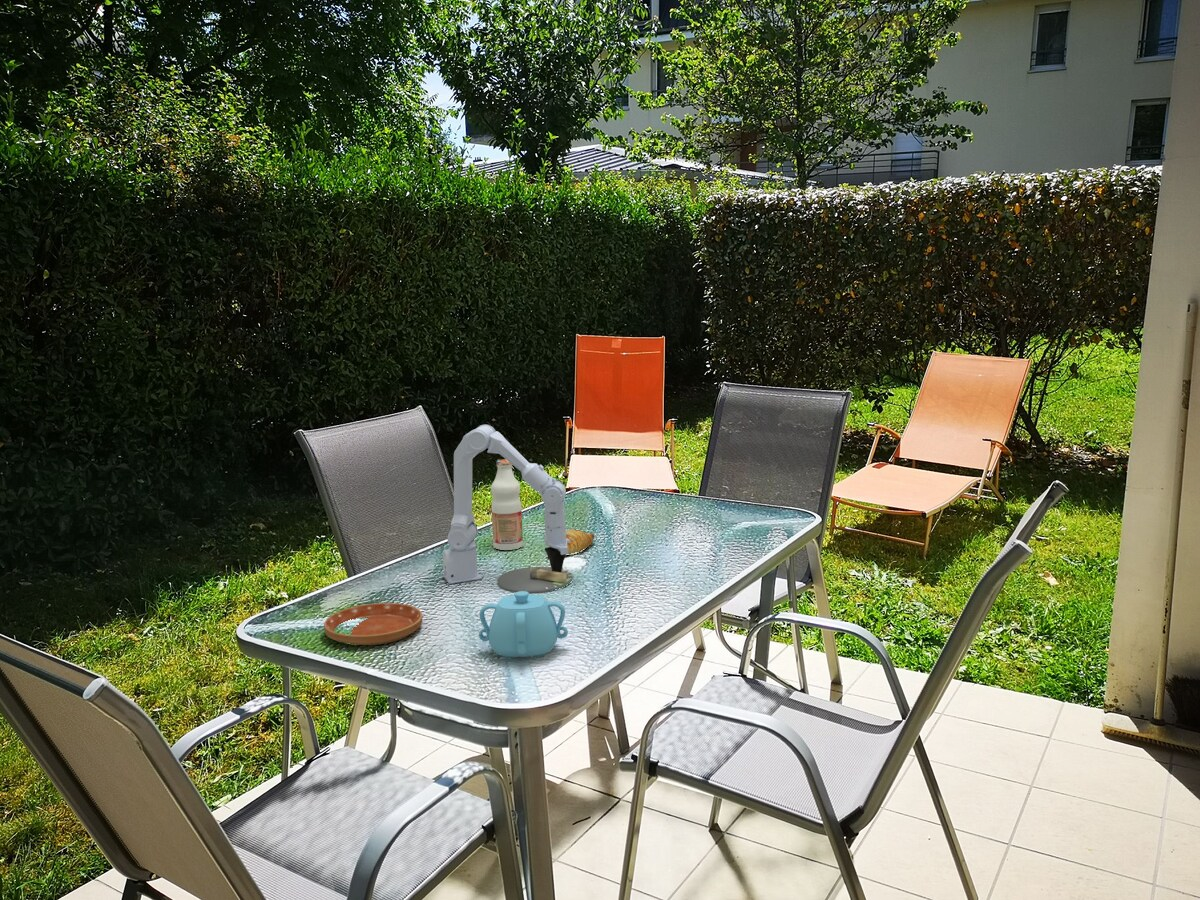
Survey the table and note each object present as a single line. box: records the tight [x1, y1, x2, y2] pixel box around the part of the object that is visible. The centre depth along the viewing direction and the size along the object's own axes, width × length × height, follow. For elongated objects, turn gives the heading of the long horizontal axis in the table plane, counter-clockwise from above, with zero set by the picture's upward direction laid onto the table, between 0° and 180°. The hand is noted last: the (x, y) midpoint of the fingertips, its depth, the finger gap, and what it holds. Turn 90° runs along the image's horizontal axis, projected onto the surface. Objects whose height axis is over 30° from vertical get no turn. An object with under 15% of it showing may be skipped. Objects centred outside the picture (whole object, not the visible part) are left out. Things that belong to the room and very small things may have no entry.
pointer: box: [530, 566, 567, 583], centre depth 250 cm, size 11×3×2 cm, turn 58°
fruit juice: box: [490, 458, 524, 550], centre depth 284 cm, size 9×9×28 cm
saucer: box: [323, 602, 423, 646], centre depth 217 cm, size 23×23×4 cm
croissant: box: [566, 529, 595, 554], centre depth 280 cm, size 21×10×8 cm, turn 142°
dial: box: [496, 566, 574, 594], centre depth 252 cm, size 21×21×1 cm
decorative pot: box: [478, 591, 569, 660], centre depth 203 cm, size 16×16×14 cm
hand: (556, 572), depth 253 cm, fingers closed
